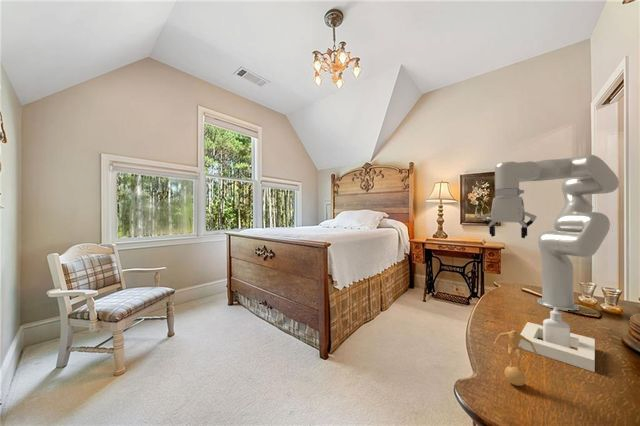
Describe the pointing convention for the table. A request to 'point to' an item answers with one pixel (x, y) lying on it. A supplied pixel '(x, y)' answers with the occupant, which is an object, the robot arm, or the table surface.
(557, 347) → the cream square frame
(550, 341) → the eye dropper bottle
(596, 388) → the table surface
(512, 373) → the figurine
